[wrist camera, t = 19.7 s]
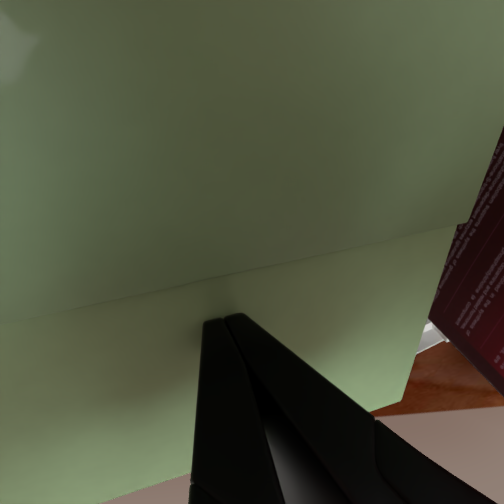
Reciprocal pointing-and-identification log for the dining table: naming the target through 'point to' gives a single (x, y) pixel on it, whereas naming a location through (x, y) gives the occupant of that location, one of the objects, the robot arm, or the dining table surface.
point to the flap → (196, 363)
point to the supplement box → (477, 280)
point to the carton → (231, 136)
